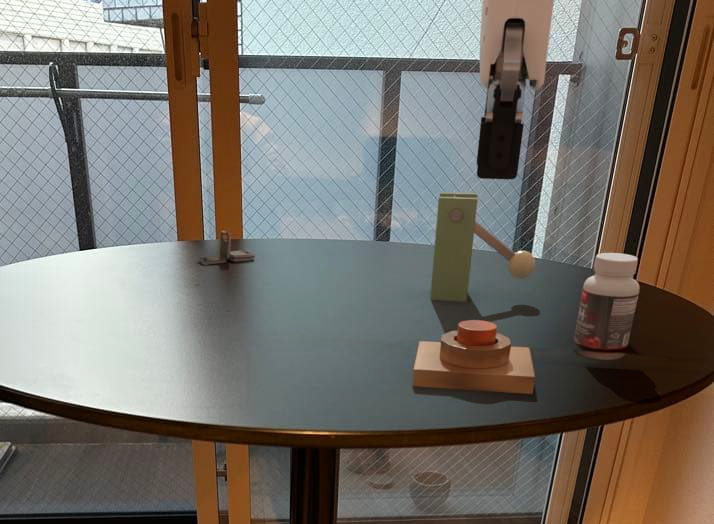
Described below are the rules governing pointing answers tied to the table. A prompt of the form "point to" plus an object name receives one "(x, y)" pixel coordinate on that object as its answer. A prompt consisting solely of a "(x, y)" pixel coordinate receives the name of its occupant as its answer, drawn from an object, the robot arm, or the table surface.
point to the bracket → (453, 246)
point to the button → (476, 333)
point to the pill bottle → (607, 306)
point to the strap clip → (227, 253)
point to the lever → (508, 254)
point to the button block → (474, 366)
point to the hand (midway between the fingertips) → (495, 171)
